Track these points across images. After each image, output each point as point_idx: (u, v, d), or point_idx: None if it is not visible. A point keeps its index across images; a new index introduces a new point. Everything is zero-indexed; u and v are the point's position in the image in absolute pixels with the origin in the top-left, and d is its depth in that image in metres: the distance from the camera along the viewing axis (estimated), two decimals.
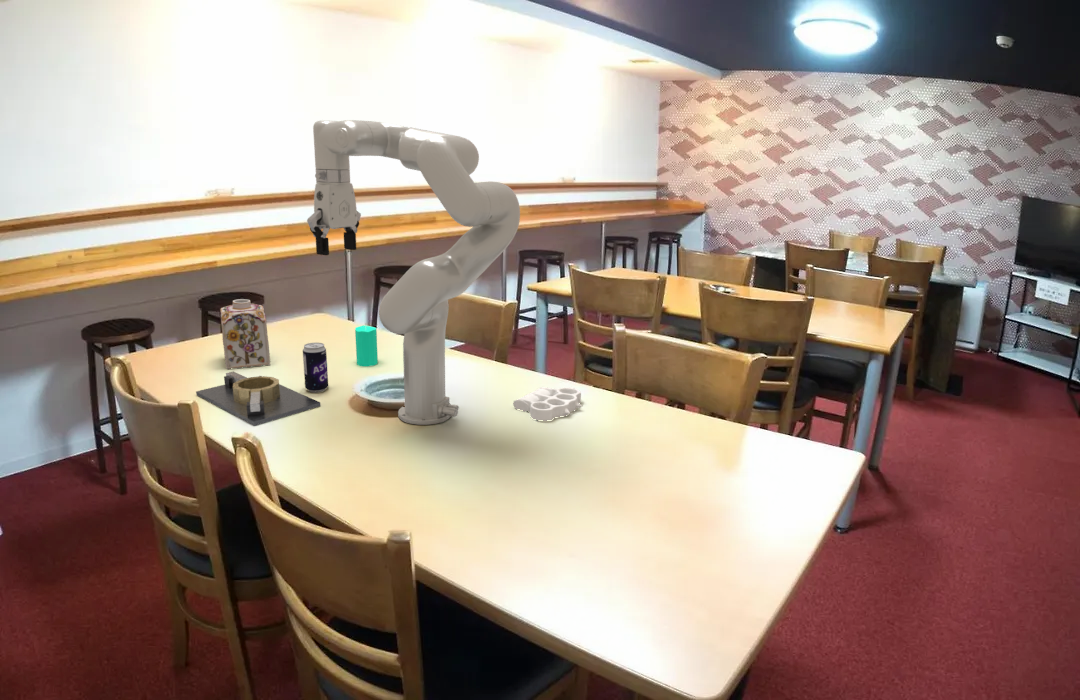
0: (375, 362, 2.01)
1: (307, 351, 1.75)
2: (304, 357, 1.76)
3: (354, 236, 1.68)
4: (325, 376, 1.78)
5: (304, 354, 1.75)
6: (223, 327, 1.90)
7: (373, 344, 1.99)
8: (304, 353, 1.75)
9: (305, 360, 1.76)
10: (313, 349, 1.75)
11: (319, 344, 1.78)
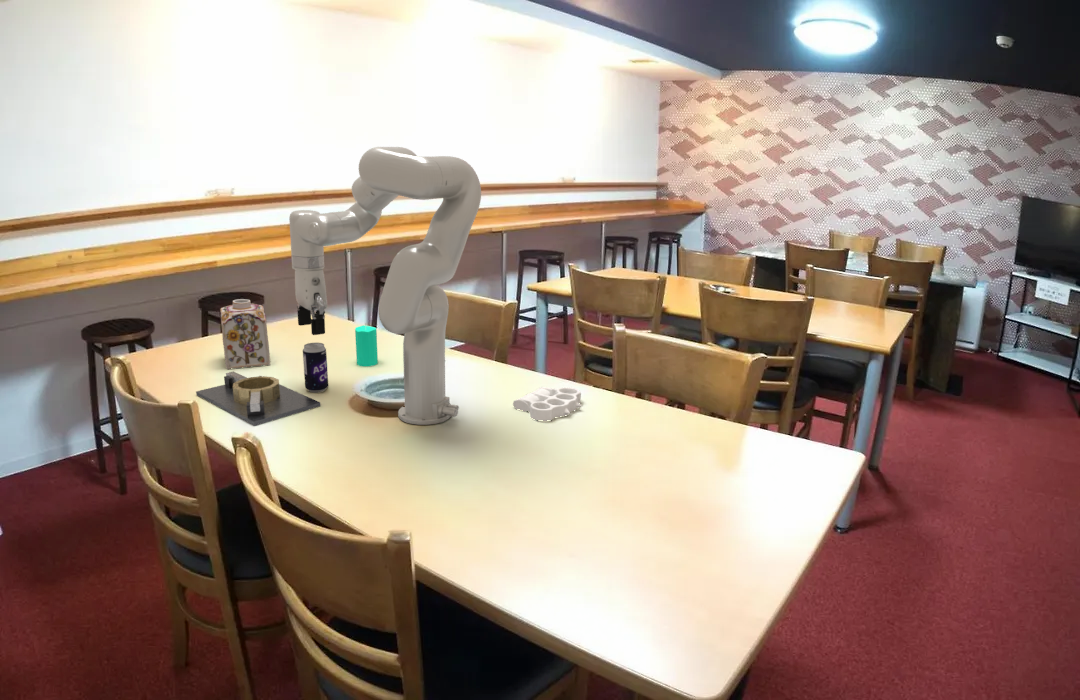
0: (375, 362, 2.01)
1: (307, 351, 1.75)
2: (304, 357, 1.76)
3: (310, 312, 1.80)
4: (325, 376, 1.78)
5: (304, 354, 1.75)
6: (223, 327, 1.90)
7: (373, 344, 1.99)
8: (304, 353, 1.75)
9: (305, 360, 1.76)
10: (313, 349, 1.75)
11: (319, 344, 1.78)
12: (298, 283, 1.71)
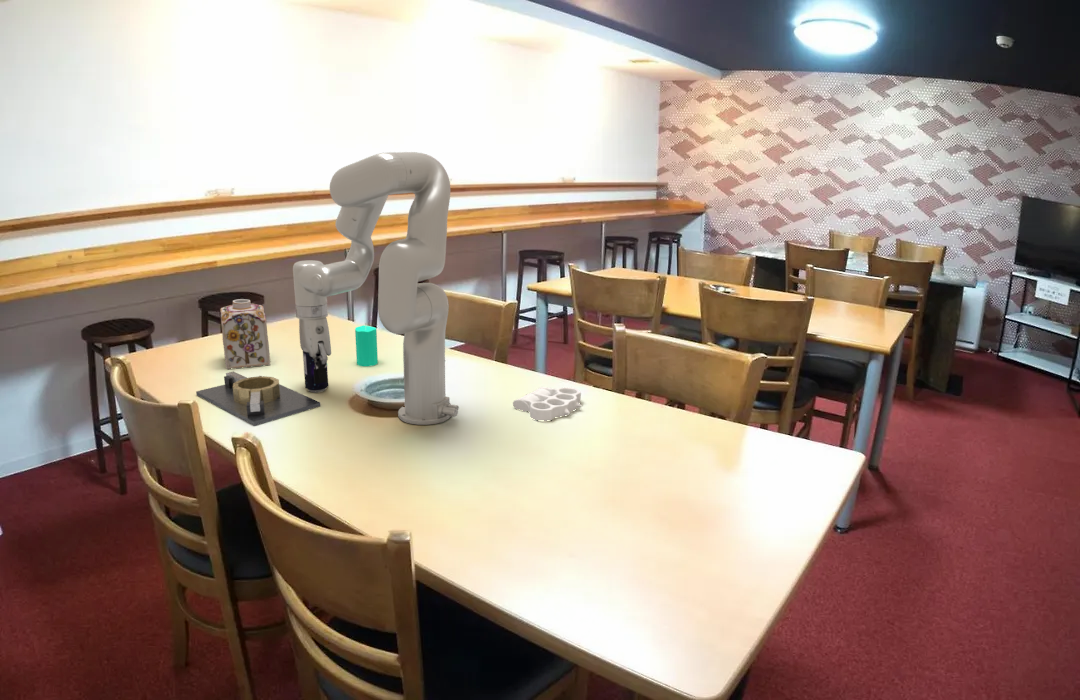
0: (375, 362, 2.01)
1: (307, 351, 1.75)
2: (304, 357, 1.76)
3: None
4: None
5: (304, 354, 1.75)
6: (223, 327, 1.90)
7: (373, 344, 1.99)
8: (304, 353, 1.75)
9: (305, 360, 1.76)
10: None
11: None
12: (302, 331, 1.75)
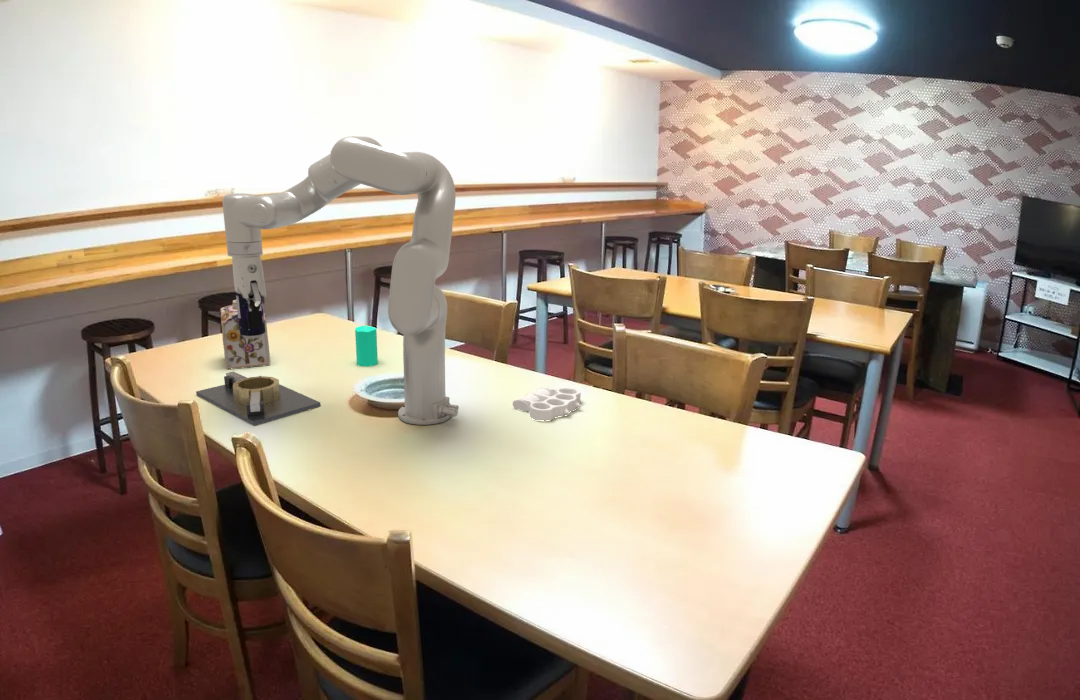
0: (375, 362, 2.01)
1: (239, 293, 1.62)
2: (237, 299, 1.63)
3: None
4: None
5: (237, 296, 1.62)
6: (223, 327, 1.90)
7: (373, 344, 1.99)
8: (237, 295, 1.62)
9: (238, 302, 1.63)
10: None
11: None
12: (235, 271, 1.62)
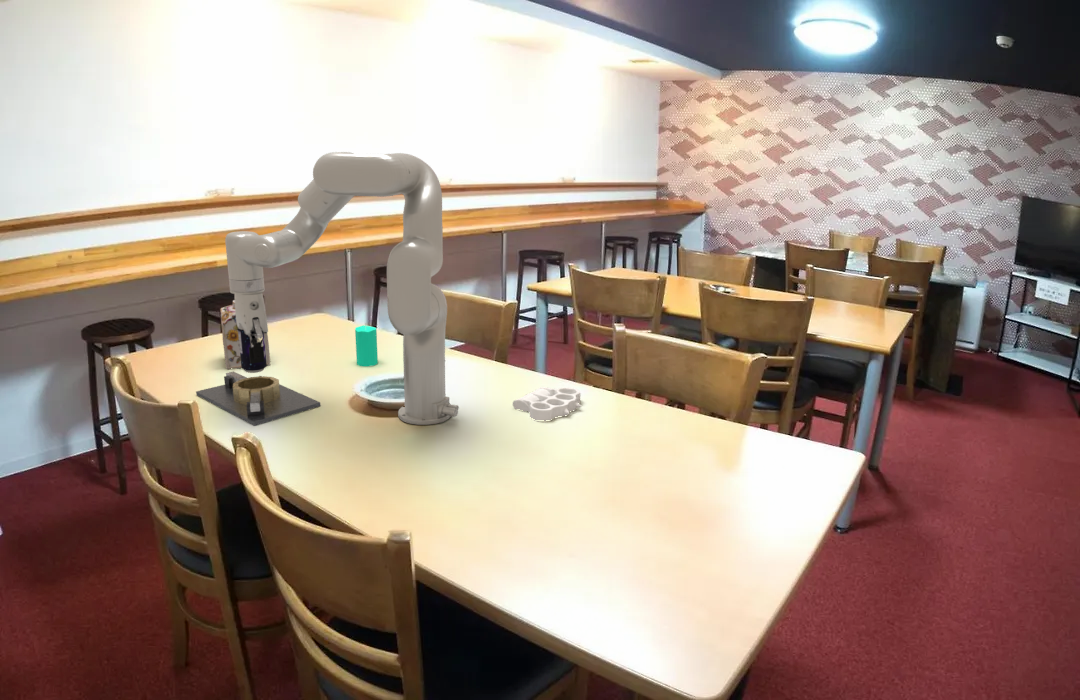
0: (375, 362, 2.01)
1: (241, 329, 1.64)
2: (239, 335, 1.65)
3: None
4: None
5: (239, 331, 1.65)
6: (223, 327, 1.90)
7: (373, 344, 1.99)
8: (239, 330, 1.65)
9: (240, 338, 1.65)
10: None
11: None
12: (237, 307, 1.64)
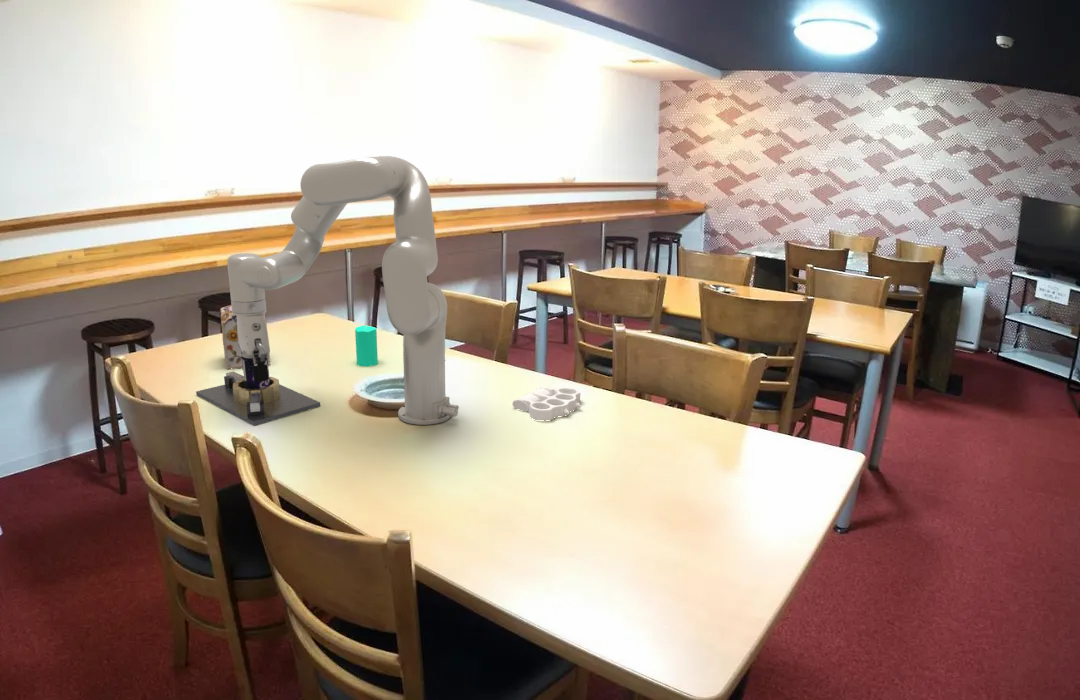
0: (375, 362, 2.01)
1: (245, 357, 1.66)
2: (243, 363, 1.67)
3: None
4: (266, 383, 1.69)
5: (243, 359, 1.66)
6: (223, 327, 1.90)
7: (373, 344, 1.99)
8: (243, 359, 1.66)
9: (244, 366, 1.67)
10: None
11: None
12: (239, 328, 1.65)
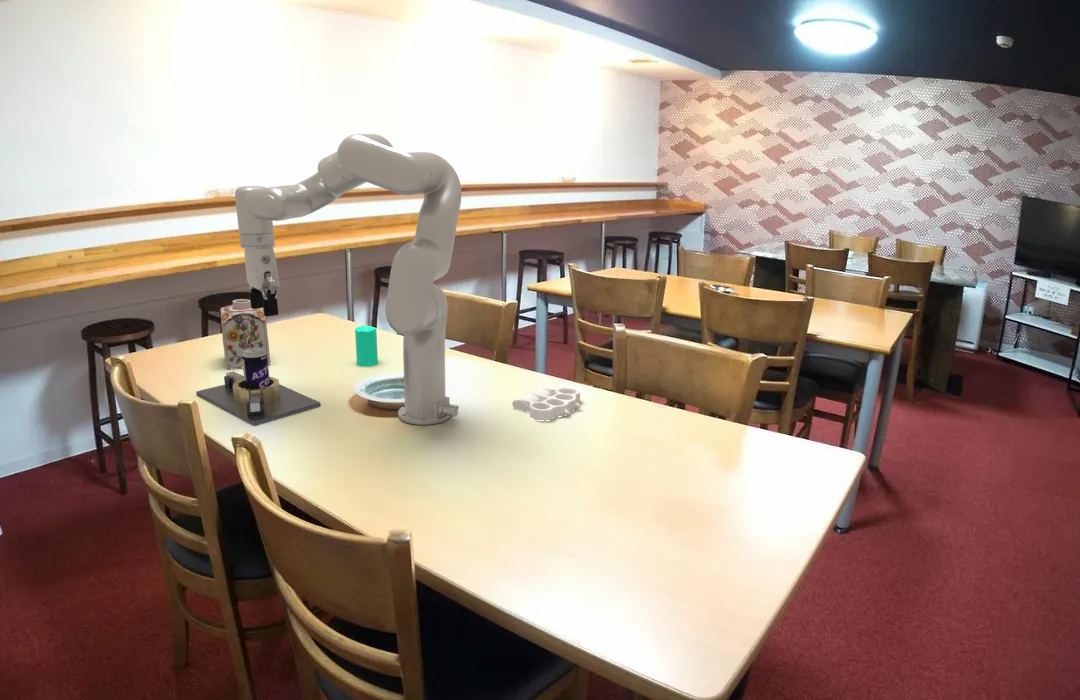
0: (375, 362, 2.01)
1: (245, 356, 1.66)
2: (243, 362, 1.67)
3: None
4: (266, 382, 1.69)
5: (243, 359, 1.67)
6: (223, 327, 1.90)
7: (373, 344, 1.99)
8: (243, 358, 1.67)
9: (244, 365, 1.67)
10: (252, 354, 1.66)
11: (260, 349, 1.69)
12: (248, 263, 1.64)
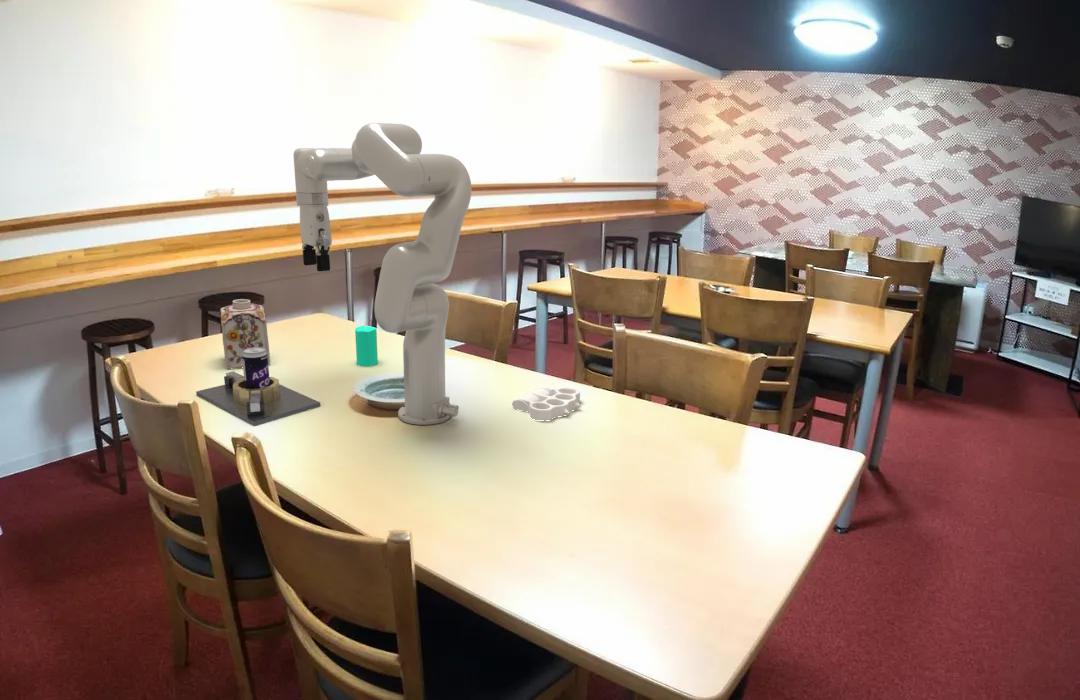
0: (375, 362, 2.01)
1: (245, 356, 1.66)
2: (243, 362, 1.67)
3: (315, 252, 1.83)
4: (266, 383, 1.69)
5: (243, 359, 1.67)
6: (223, 327, 1.90)
7: (373, 344, 1.99)
8: (243, 358, 1.67)
9: (244, 365, 1.67)
10: (252, 354, 1.66)
11: (260, 349, 1.69)
12: (303, 221, 1.75)
